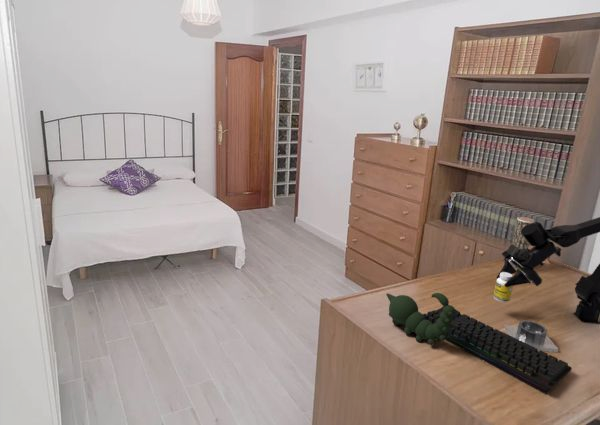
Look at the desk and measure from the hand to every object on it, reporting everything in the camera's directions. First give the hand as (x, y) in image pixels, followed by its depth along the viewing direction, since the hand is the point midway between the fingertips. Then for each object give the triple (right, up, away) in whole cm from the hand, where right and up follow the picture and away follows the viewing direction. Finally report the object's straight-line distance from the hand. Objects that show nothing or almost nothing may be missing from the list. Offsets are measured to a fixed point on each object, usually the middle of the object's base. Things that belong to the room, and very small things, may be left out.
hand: (501, 282), depth 152 cm
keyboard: (-12, -19, -16) cm, 28 cm away
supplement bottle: (+1, -7, +2) cm, 7 cm away
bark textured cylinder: (+27, -2, +44) cm, 52 cm away
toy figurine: (-34, -15, -10) cm, 39 cm away
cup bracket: (+5, -17, -10) cm, 21 cm away
